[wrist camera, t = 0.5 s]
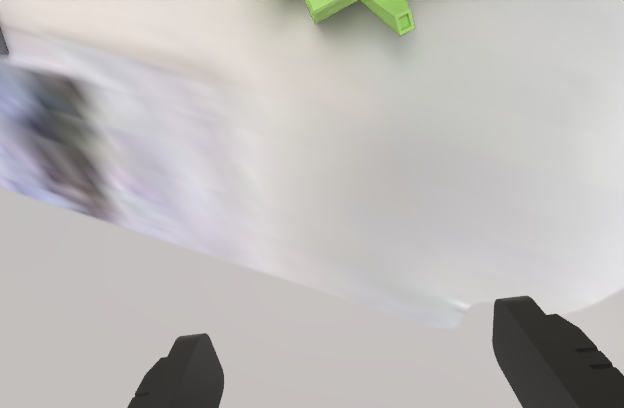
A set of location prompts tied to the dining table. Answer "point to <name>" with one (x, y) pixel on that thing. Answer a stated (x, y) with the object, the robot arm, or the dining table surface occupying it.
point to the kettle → (384, 3)
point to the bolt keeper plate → (2, 44)
